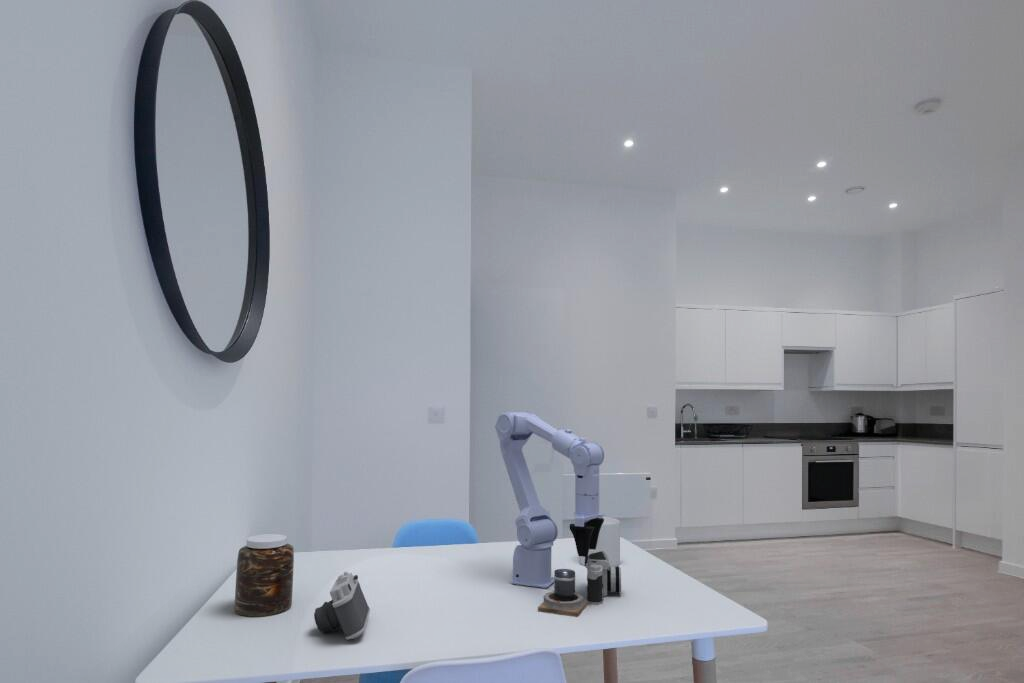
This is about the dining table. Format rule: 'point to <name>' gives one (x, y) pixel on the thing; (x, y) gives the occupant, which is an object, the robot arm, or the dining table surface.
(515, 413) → the robot arm
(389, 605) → the dining table surface
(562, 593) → the lens
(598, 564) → the camera
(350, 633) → the camera
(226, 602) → the dining table surface
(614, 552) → the cup
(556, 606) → the mount
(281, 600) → the jar
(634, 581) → the dining table surface
